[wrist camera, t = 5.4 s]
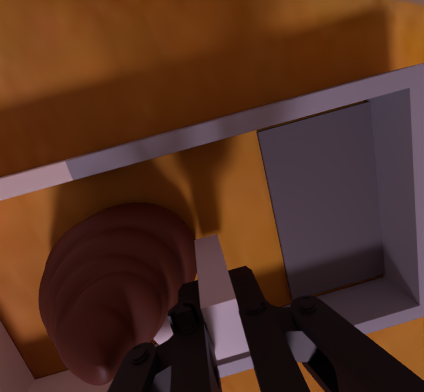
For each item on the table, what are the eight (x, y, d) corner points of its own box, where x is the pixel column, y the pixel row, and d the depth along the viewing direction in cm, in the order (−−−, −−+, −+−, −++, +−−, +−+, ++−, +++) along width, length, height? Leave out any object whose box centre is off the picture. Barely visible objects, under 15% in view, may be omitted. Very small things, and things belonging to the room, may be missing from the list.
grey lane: (379, 73, 17) (426, 62, 14) (395, 283, 22) (434, 313, 19) (88, 153, 17) (65, 161, 13) (166, 351, 21) (163, 395, 18)
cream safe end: (88, 153, 17) (65, 161, 13) (166, 351, 21) (163, 395, 18) (-90, 201, 17) (-158, 222, 13) (28, 392, 21) (-2, 444, 18)
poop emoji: (158, 173, 18) (132, 228, 9) (221, 273, 20) (251, 396, 11) (28, 248, 18) (-126, 374, 9) (104, 336, 20) (42, 506, 11)
